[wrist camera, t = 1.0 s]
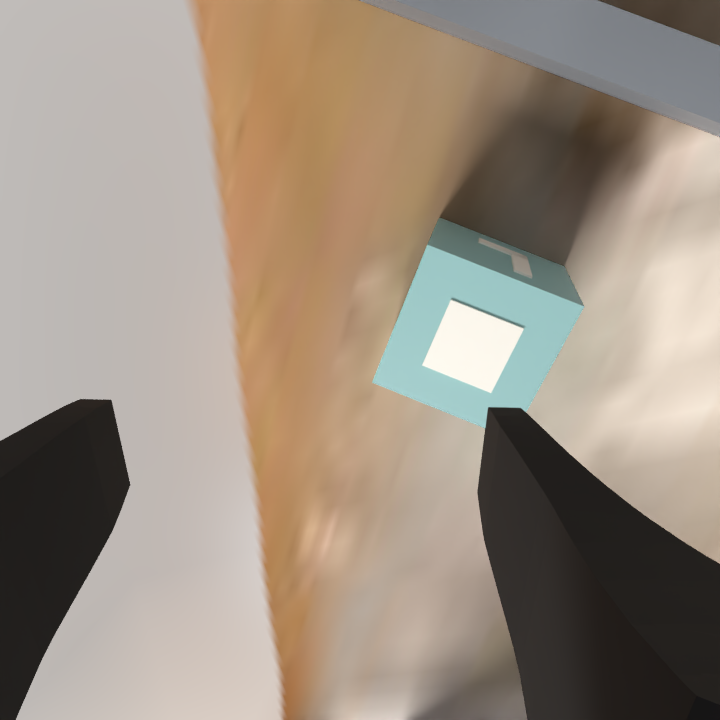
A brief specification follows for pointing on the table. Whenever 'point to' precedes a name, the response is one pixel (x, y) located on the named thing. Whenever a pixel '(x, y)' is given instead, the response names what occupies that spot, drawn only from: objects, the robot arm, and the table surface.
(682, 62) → the panel
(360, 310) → the table surface
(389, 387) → the letter cube
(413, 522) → the table surface
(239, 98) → the table surface
